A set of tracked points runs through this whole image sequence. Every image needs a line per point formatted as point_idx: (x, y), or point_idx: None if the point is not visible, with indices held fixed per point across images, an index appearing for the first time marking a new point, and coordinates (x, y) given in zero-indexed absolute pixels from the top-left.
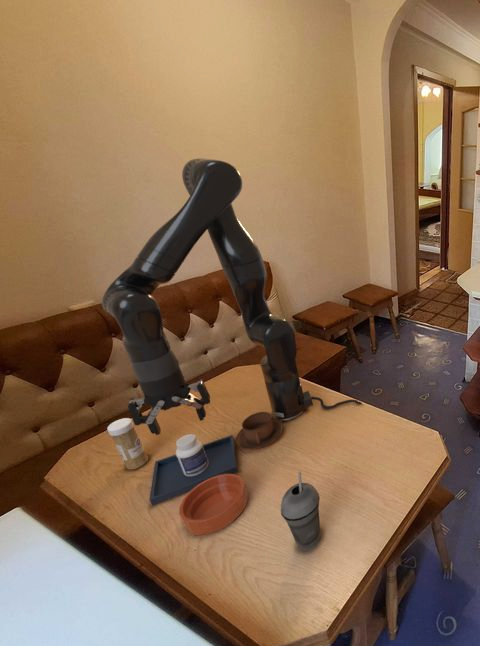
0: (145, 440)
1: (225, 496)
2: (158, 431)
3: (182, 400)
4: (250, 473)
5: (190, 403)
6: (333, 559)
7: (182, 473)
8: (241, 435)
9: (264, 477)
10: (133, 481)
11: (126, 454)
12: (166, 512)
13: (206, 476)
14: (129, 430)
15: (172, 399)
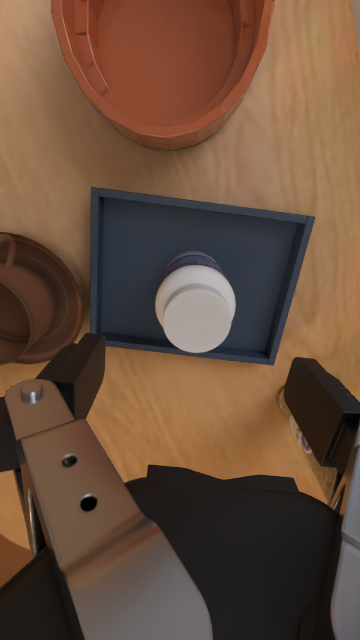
0: (271, 458)
1: (139, 90)
2: (305, 366)
3: (85, 520)
4: (64, 153)
5: (46, 437)
6: None
7: None
8: (71, 332)
9: (24, 97)
10: (318, 341)
11: None
12: (283, 161)
13: (173, 205)
14: None
15: (200, 633)
